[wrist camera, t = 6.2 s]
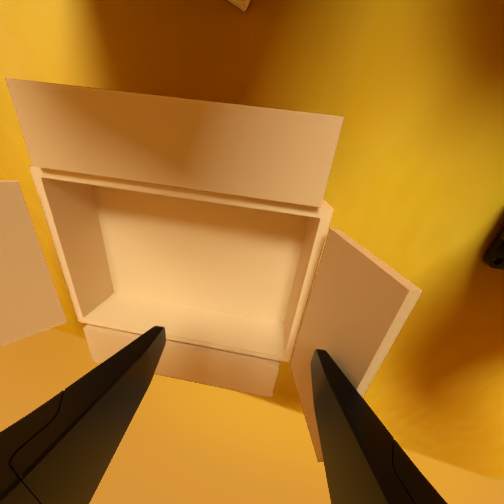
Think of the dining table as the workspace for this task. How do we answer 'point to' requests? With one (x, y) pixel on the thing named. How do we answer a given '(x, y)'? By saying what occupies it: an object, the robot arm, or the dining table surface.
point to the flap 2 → (350, 318)
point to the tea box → (240, 4)
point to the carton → (183, 222)
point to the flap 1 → (23, 273)
